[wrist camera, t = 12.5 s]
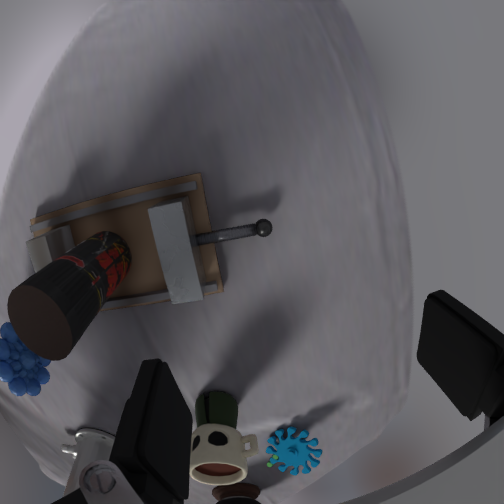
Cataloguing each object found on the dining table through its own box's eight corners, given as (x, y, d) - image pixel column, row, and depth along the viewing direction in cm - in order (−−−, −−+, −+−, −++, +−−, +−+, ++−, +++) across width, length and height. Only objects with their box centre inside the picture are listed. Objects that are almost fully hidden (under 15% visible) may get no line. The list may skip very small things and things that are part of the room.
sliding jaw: (179, 282, 31) (172, 304, 26) (160, 201, 28) (147, 209, 23) (276, 264, 31) (286, 284, 26) (264, 181, 28) (273, 185, 23)
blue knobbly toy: (299, 419, 39) (330, 465, 34) (311, 409, 44) (339, 450, 39) (249, 443, 42) (278, 484, 37) (265, 432, 47) (291, 470, 42)
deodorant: (114, 291, 30) (58, 373, 16) (77, 259, 28) (1, 322, 14) (142, 254, 29) (85, 327, 15) (101, 219, 28) (19, 266, 13)
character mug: (240, 376, 37) (248, 452, 24) (259, 405, 39) (271, 475, 26) (172, 397, 37) (162, 468, 25) (196, 423, 39) (194, 490, 27)
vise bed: (65, 311, 31) (43, 337, 25) (35, 217, 28) (4, 229, 21) (223, 287, 32) (224, 315, 26) (200, 172, 29) (194, 174, 22)
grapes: (10, 302, 30) (-35, 342, 19) (39, 301, 31) (-8, 347, 19) (37, 365, 34) (5, 412, 22) (67, 368, 34) (36, 421, 23)
